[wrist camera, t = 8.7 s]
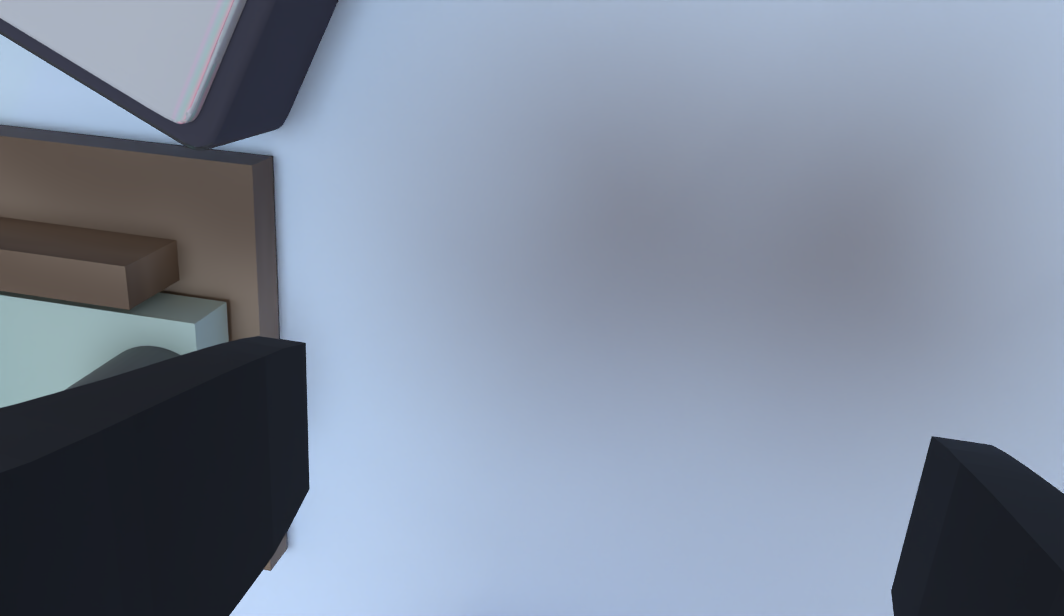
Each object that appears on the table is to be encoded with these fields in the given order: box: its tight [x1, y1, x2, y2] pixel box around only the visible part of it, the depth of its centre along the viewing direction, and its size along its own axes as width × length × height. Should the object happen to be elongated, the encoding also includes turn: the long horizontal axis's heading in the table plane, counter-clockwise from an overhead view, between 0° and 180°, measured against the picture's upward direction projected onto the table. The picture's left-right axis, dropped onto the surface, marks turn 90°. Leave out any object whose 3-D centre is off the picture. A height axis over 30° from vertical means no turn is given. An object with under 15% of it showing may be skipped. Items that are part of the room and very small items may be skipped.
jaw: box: [0, 291, 229, 408], centre depth 20 cm, size 4×8×6 cm, turn 86°
